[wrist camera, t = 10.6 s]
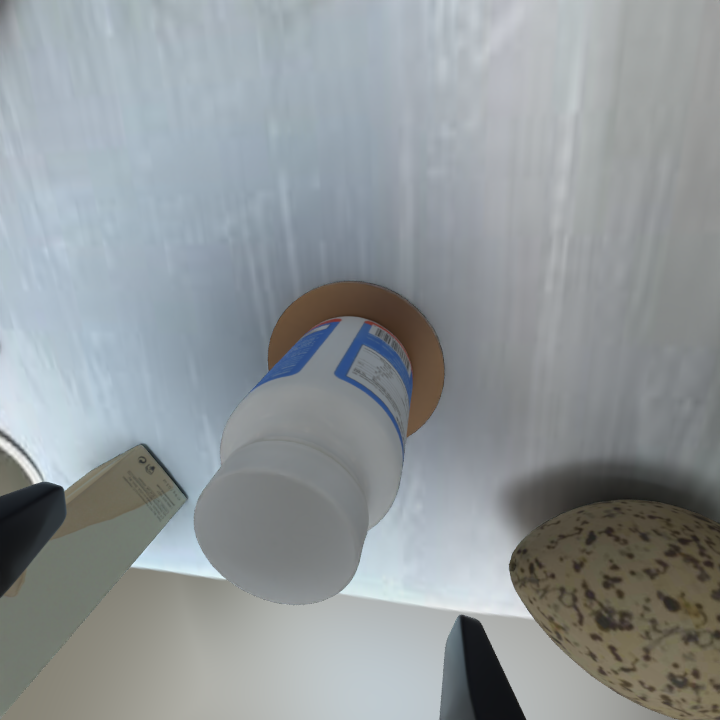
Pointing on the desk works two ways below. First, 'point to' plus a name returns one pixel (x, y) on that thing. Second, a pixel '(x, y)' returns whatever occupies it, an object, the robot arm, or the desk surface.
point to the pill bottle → (309, 464)
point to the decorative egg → (631, 600)
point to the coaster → (385, 312)
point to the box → (81, 562)
